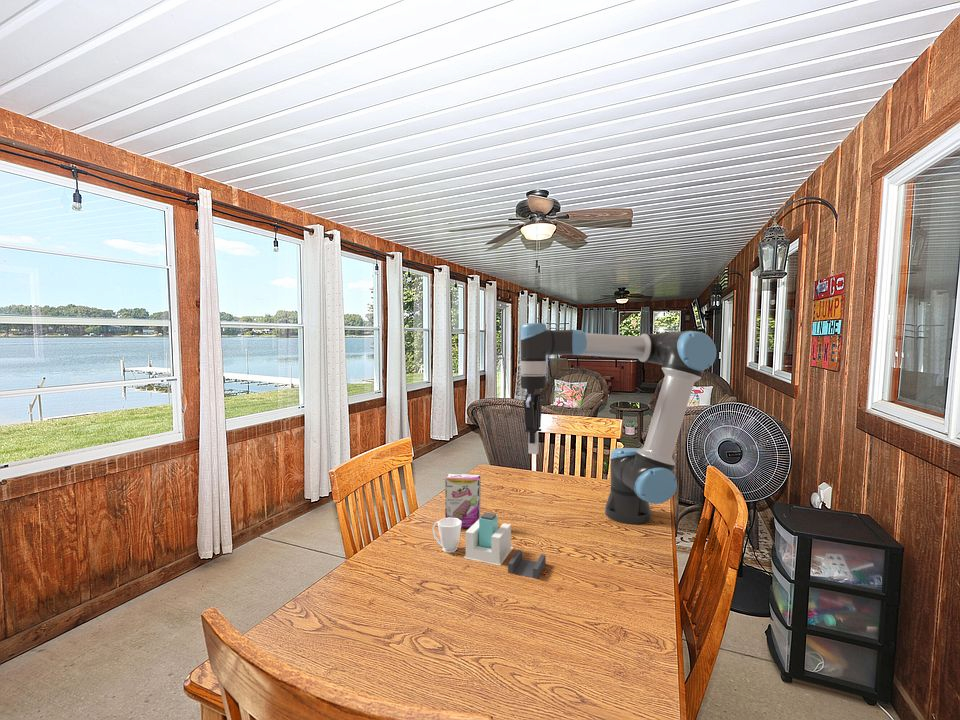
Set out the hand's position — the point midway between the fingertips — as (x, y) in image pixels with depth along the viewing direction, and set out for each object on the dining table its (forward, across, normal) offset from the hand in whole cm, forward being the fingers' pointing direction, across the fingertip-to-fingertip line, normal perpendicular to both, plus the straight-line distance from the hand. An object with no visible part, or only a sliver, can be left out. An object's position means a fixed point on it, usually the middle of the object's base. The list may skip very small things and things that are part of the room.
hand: (533, 453), depth 132 cm
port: (+26, +14, -9) cm, 31 cm away
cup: (+27, +15, -22) cm, 38 cm away
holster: (+26, +18, +4) cm, 32 cm away
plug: (+26, +14, -9) cm, 31 cm away
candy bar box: (+27, -1, -24) cm, 36 cm away
